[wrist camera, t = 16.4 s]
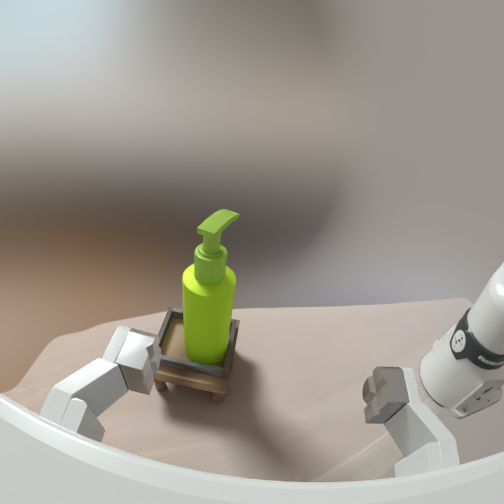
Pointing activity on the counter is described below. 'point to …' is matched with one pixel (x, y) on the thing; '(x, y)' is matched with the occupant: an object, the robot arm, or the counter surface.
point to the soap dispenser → (209, 294)
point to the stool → (185, 370)
